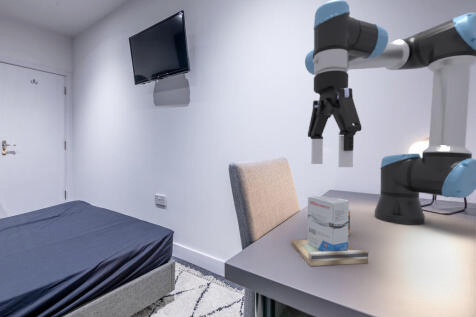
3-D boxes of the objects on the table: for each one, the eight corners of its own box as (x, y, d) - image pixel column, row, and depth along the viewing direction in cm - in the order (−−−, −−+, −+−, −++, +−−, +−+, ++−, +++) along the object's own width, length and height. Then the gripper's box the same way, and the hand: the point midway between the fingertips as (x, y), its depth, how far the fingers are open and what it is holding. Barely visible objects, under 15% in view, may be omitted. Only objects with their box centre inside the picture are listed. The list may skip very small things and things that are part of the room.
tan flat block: (338, 242, 65) (338, 233, 65) (368, 263, 53) (368, 251, 52) (291, 244, 63) (291, 234, 63) (310, 266, 51) (310, 254, 51)
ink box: (348, 253, 55) (349, 201, 55) (332, 257, 53) (332, 203, 53) (321, 240, 63) (322, 195, 62) (306, 243, 61) (307, 196, 60)
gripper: (296, 87, 69) (295, 162, 69) (345, 51, 44) (343, 169, 45) (321, 88, 70) (320, 162, 70) (383, 53, 45) (381, 168, 46)
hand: (329, 165), depth 58 cm, fingers open, 13 cm apart
